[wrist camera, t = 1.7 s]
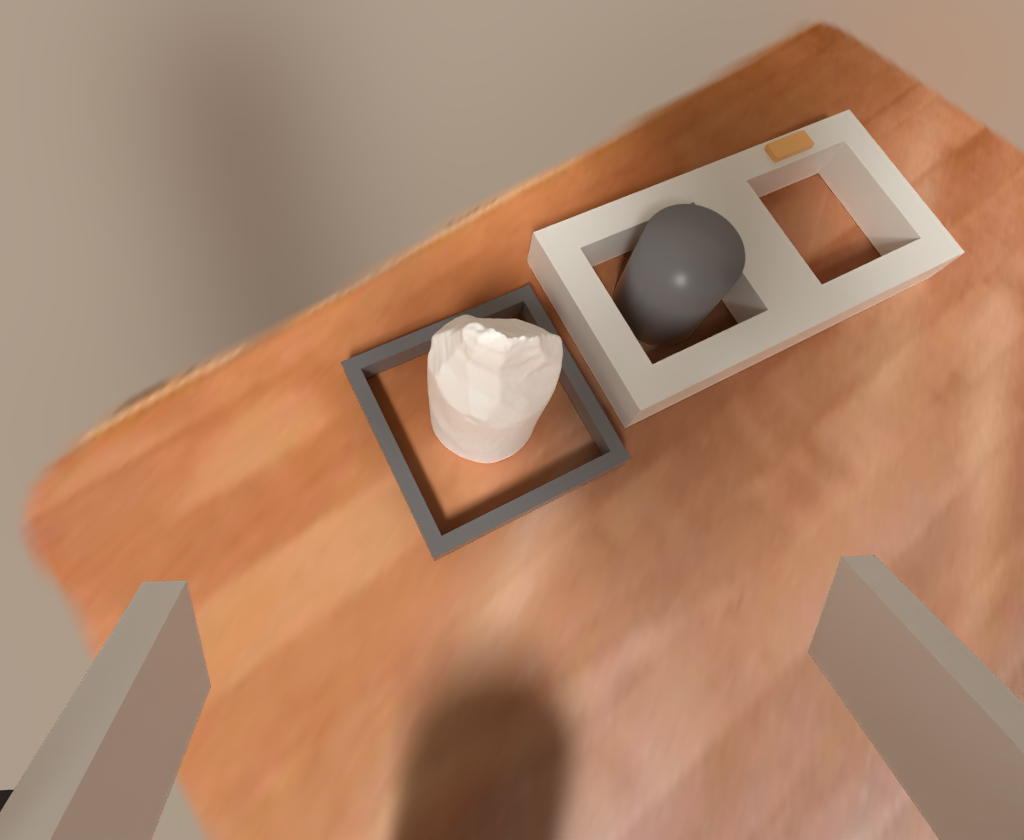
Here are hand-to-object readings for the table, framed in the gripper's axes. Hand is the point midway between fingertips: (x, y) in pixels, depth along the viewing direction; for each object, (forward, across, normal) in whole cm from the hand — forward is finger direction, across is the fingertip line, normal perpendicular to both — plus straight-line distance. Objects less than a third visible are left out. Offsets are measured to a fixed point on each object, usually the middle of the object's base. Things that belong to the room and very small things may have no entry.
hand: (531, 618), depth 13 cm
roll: (+22, +1, -6) cm, 23 cm away
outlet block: (+28, +17, +1) cm, 33 cm away
